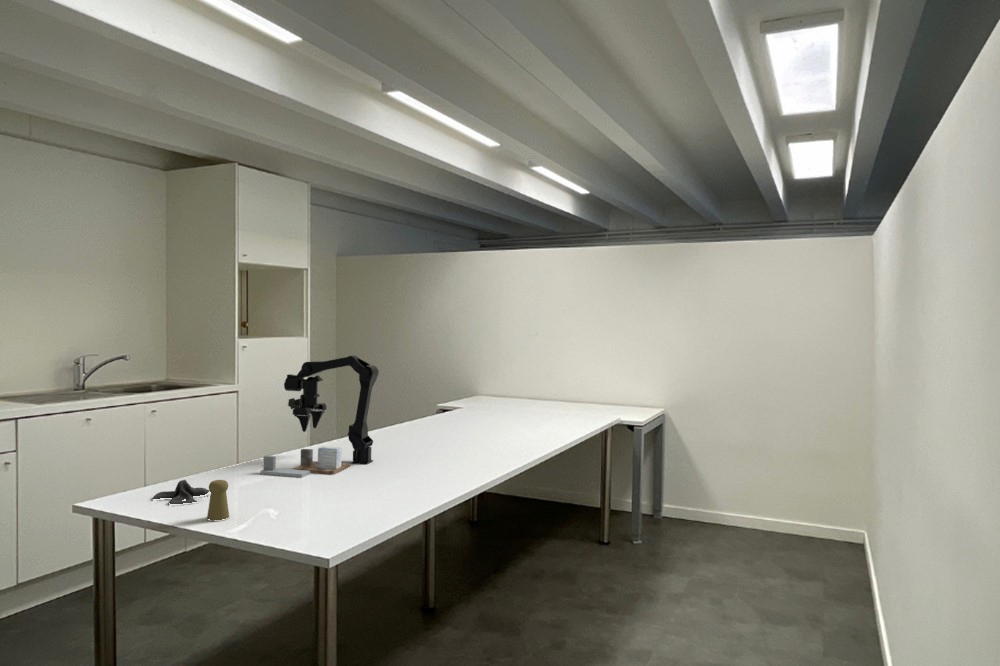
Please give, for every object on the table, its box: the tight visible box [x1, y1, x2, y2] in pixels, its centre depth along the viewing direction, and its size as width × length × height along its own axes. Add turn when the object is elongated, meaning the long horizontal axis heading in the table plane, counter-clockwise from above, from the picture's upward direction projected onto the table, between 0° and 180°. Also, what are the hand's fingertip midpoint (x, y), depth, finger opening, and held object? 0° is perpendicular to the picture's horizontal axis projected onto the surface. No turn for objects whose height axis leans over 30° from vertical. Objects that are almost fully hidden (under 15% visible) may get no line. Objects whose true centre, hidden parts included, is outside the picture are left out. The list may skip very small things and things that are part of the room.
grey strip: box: [259, 455, 311, 478], centre depth 252 cm, size 17×6×6 cm, turn 77°
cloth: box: [151, 479, 209, 504], centre depth 220 cm, size 22×19×6 cm
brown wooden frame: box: [292, 448, 351, 475], centre depth 262 cm, size 17×14×7 cm
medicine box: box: [317, 445, 343, 470], centre depth 260 cm, size 8×4×9 cm, turn 79°
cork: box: [206, 479, 230, 520], centre depth 197 cm, size 6×6×11 cm
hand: (309, 429), depth 279 cm, fingers open, 9 cm apart
